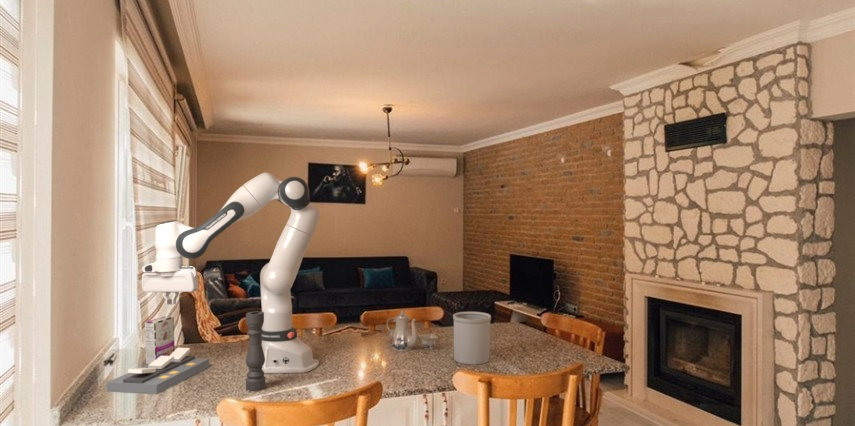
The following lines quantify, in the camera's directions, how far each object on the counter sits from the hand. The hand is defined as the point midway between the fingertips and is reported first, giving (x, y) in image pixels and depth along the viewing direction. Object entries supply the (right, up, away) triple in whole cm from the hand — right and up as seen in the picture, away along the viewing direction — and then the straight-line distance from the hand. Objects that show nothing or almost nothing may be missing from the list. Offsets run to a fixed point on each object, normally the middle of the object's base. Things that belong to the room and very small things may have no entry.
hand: (171, 304), depth 194 cm
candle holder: (+35, -26, -15) cm, 46 cm away
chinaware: (+83, -25, +36) cm, 94 cm away
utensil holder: (+110, -25, +17) cm, 114 cm away
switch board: (-1, -25, -4) cm, 26 cm away
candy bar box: (-13, -25, +18) cm, 34 cm away
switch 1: (-3, -20, -14) cm, 25 cm away
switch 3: (0, -20, +6) cm, 21 cm away
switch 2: (-1, -20, -4) cm, 21 cm away
